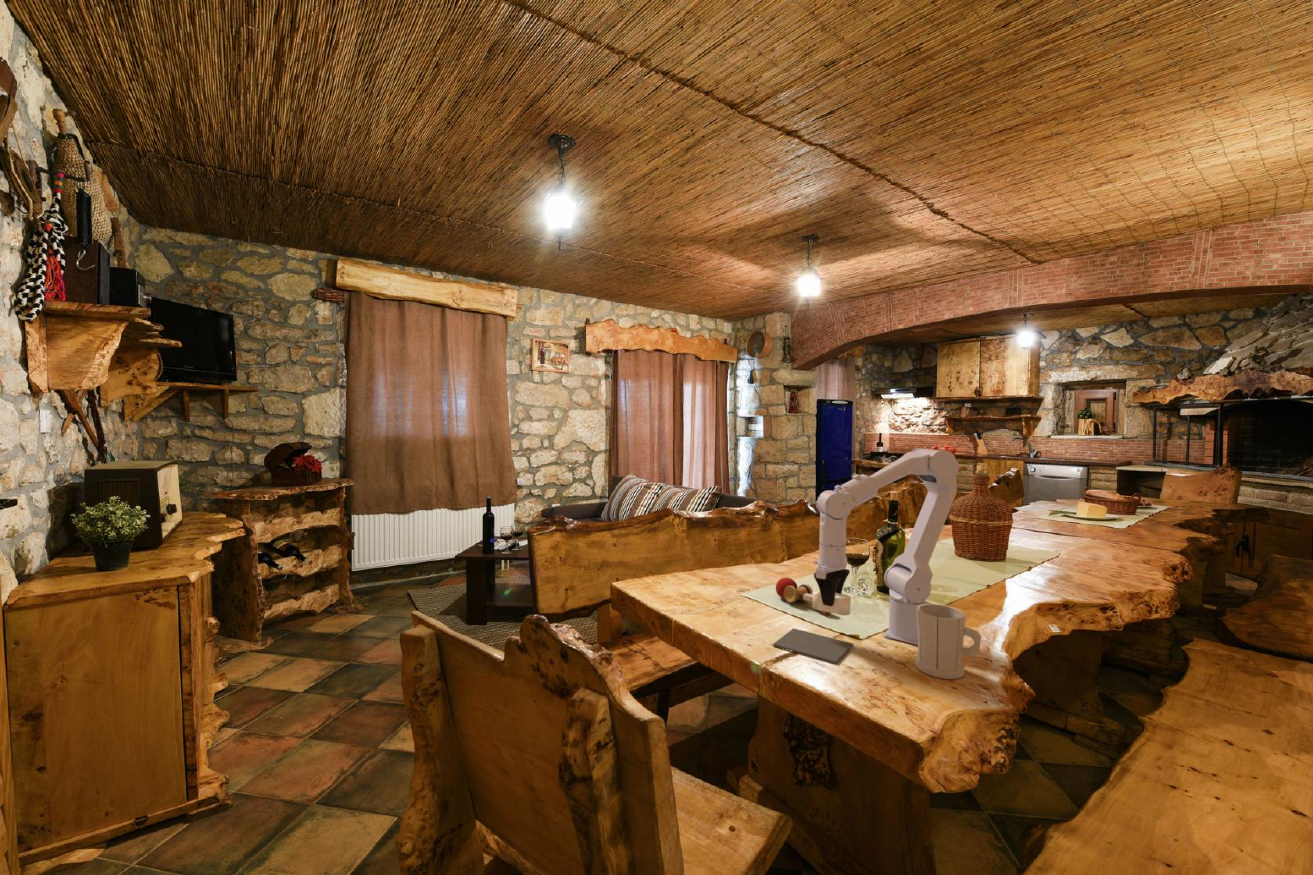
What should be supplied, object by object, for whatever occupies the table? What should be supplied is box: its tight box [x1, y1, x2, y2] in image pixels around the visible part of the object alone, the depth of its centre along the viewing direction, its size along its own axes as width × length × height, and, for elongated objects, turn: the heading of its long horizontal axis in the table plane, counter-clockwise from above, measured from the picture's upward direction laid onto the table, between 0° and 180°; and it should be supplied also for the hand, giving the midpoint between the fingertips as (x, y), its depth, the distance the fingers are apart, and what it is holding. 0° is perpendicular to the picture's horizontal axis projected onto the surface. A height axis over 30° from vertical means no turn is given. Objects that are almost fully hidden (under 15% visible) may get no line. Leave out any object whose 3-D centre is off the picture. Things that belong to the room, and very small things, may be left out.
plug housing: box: [803, 589, 852, 616], centre depth 123 cm, size 11×4×4 cm, turn 52°
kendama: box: [775, 577, 832, 617], centre depth 145 cm, size 8×6×18 cm
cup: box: [914, 603, 982, 680], centre depth 107 cm, size 10×9×12 cm
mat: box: [772, 627, 854, 665], centre depth 118 cm, size 14×11×1 cm
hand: (831, 602), depth 122 cm, fingers closed on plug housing, 4 cm apart
